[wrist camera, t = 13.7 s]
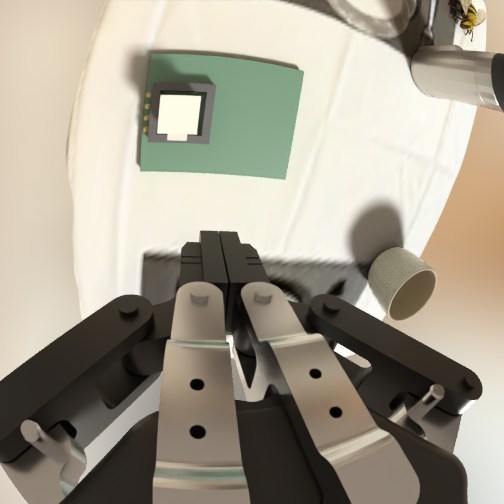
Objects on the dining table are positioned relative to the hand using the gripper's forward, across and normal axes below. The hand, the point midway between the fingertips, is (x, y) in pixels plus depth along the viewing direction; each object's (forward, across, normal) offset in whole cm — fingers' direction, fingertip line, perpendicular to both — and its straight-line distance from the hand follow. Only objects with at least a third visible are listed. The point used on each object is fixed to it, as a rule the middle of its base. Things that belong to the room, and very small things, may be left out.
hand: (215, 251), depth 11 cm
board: (+27, -2, -5) cm, 28 cm away
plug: (+26, +3, -5) cm, 26 cm away
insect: (+27, -46, -43) cm, 69 cm away
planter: (+27, -38, +18) cm, 50 cm away
